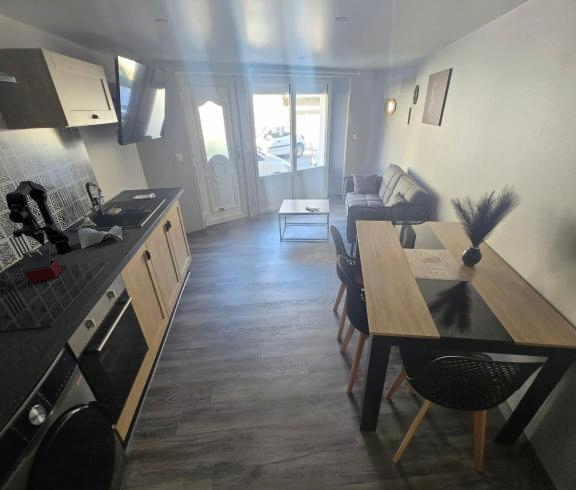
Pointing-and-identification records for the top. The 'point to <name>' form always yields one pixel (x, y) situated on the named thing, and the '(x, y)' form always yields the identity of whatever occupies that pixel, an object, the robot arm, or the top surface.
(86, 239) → the grey crumpled fabric piece
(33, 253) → the lid
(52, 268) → the red box
